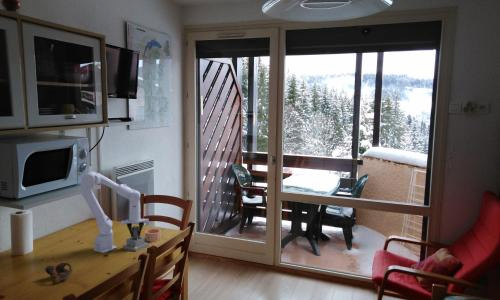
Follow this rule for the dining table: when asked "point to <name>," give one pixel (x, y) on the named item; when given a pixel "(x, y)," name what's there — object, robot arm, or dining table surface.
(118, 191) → the robot arm
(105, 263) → the dining table surface
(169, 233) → the dining table surface
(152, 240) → the cup
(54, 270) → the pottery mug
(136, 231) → the battery cell
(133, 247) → the checker housing
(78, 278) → the dining table surface
